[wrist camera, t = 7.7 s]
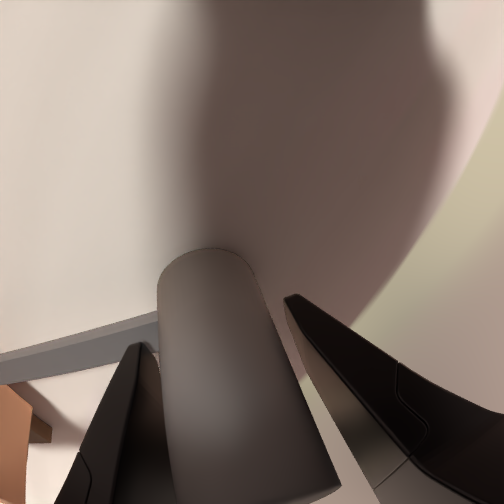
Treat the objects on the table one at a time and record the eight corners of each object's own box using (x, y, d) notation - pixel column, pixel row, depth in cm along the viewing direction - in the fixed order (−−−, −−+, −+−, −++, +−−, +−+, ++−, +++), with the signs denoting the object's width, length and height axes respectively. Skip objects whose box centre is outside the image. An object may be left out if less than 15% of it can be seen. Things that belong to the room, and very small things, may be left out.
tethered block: (230, 186, 8) (357, 444, 2) (269, 335, 11) (335, 499, 6) (-100, 325, 6) (-139, 432, 1) (-29, 400, 10) (-44, 500, 5)
